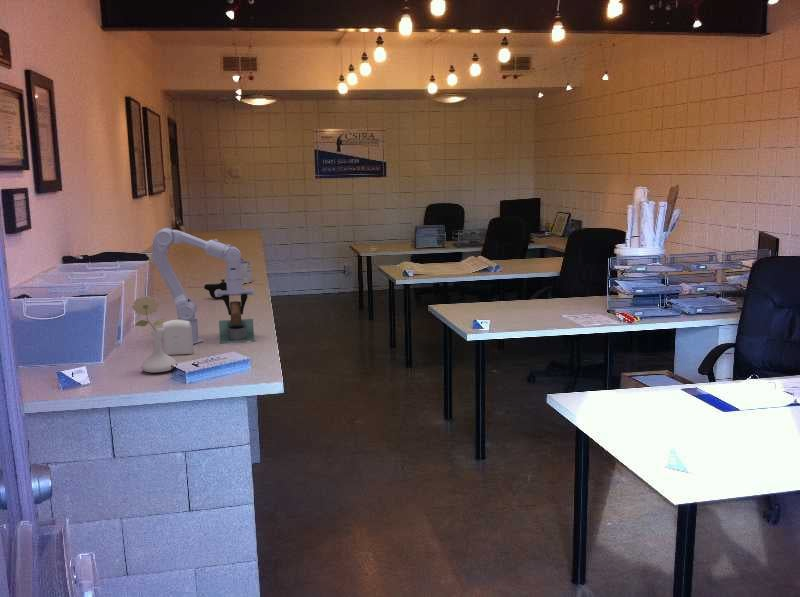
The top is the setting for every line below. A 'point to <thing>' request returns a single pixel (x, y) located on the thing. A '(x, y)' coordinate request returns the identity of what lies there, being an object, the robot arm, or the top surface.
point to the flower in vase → (158, 358)
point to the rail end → (235, 312)
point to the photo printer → (177, 337)
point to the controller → (214, 287)
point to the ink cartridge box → (246, 271)
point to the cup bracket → (236, 331)
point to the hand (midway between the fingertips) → (235, 314)
